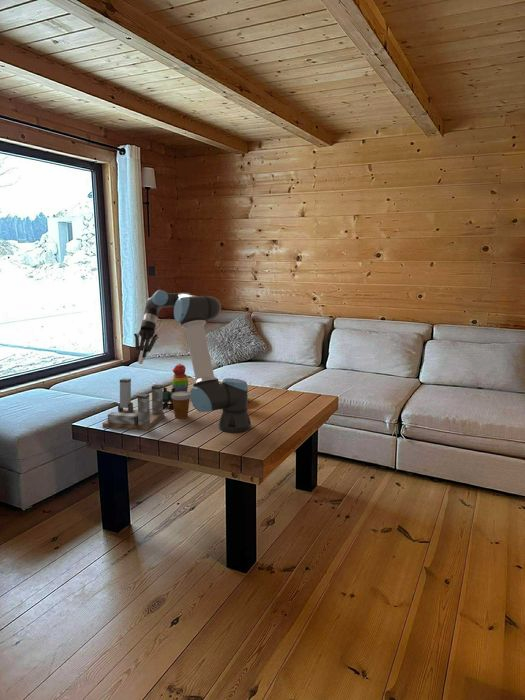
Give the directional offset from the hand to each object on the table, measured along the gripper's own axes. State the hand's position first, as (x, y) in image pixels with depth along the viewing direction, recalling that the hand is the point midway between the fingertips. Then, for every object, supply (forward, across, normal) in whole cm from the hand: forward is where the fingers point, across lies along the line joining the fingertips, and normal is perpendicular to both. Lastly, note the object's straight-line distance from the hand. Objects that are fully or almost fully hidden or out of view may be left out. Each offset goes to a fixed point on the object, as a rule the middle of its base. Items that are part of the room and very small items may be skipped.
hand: (140, 362), depth 249 cm
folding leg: (+22, +5, -5) cm, 24 cm away
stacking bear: (0, -12, -40) cm, 42 cm away
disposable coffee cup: (+25, -24, -9) cm, 36 cm away
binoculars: (+17, -13, -20) cm, 29 cm away
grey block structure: (+31, -3, -1) cm, 31 cm away
